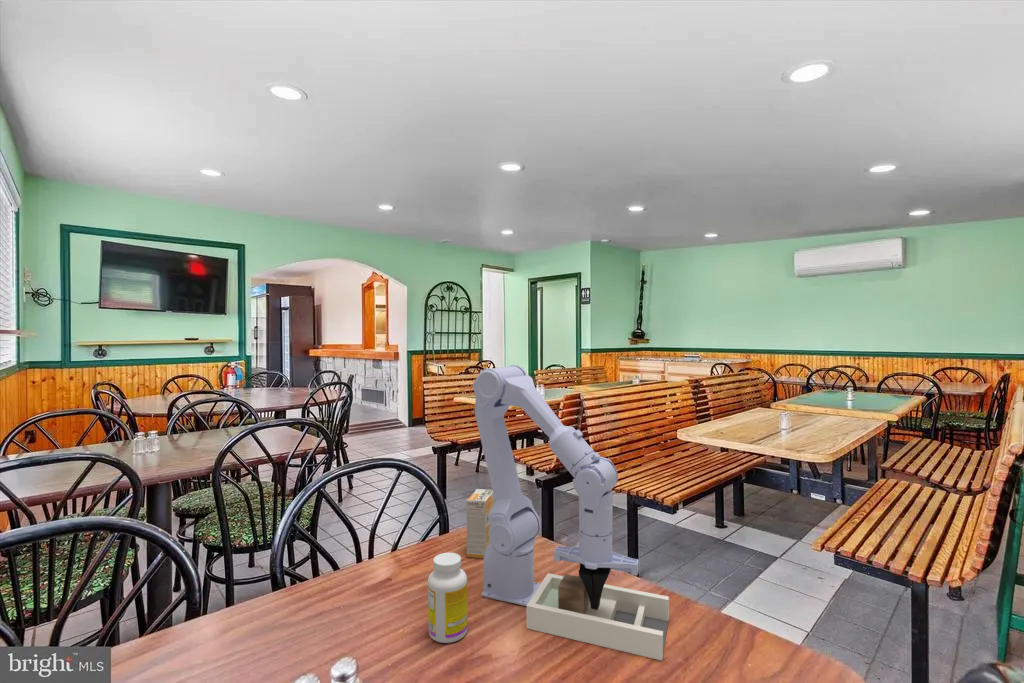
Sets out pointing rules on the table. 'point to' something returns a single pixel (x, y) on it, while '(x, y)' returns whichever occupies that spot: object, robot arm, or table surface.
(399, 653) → the table surface
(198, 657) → the table surface
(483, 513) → the supplement box
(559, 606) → the walnut block
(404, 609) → the table surface
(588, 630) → the track
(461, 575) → the supplement bottle
